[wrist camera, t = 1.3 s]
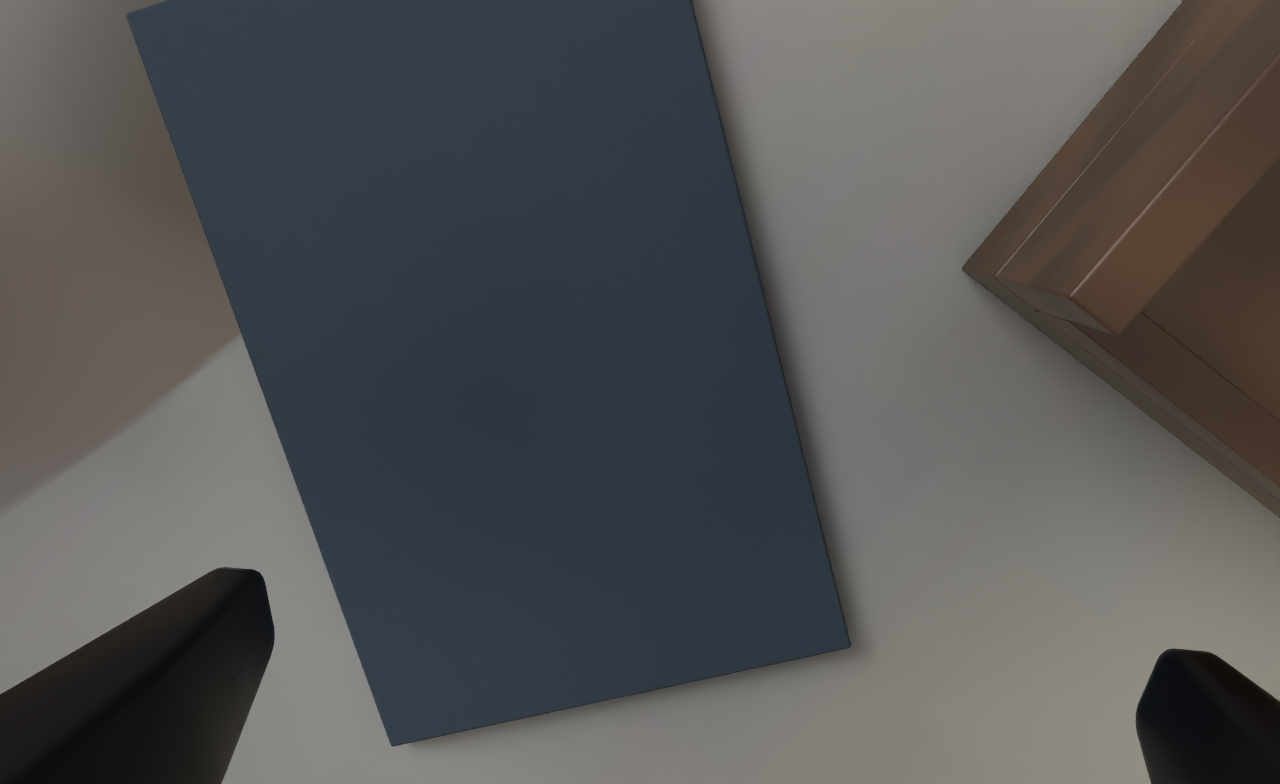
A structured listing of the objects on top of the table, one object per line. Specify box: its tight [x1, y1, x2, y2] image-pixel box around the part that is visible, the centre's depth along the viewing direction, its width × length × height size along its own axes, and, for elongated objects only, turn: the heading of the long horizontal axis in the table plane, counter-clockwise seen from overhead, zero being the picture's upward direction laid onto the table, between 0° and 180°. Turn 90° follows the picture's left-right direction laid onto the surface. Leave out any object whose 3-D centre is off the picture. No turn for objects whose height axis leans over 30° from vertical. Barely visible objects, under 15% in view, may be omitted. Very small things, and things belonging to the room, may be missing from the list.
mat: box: [126, 0, 851, 746], centre depth 23 cm, size 20×13×1 cm, turn 16°
